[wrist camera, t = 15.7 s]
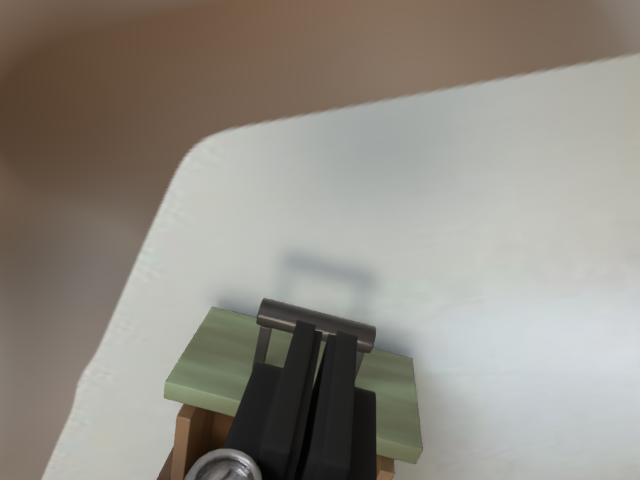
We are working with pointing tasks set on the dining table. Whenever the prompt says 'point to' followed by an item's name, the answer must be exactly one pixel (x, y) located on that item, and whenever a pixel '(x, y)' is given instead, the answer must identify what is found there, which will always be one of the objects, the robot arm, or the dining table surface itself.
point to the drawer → (272, 348)
